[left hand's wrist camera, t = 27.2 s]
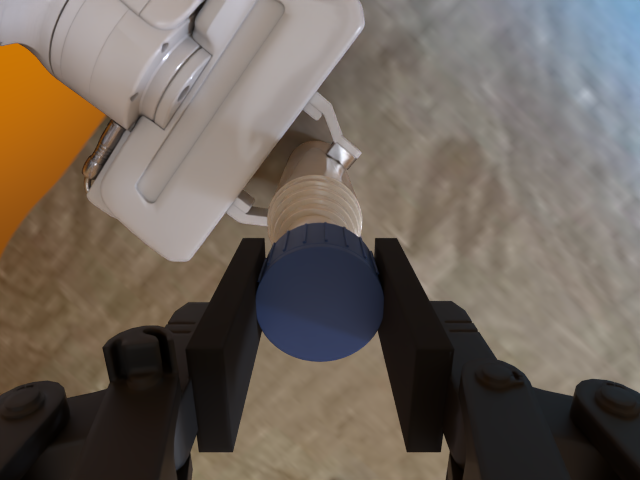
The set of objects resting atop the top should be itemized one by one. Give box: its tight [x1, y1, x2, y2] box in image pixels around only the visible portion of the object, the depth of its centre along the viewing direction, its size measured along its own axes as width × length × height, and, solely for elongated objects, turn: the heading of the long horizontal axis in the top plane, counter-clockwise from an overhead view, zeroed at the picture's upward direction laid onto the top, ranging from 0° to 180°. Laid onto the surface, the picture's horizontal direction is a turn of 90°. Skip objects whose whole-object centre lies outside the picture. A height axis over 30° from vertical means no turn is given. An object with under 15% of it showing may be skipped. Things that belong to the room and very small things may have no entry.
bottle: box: [267, 141, 362, 245], centre depth 24 cm, size 5×5×21 cm
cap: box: [256, 222, 384, 362], centre depth 13 cm, size 4×4×2 cm
